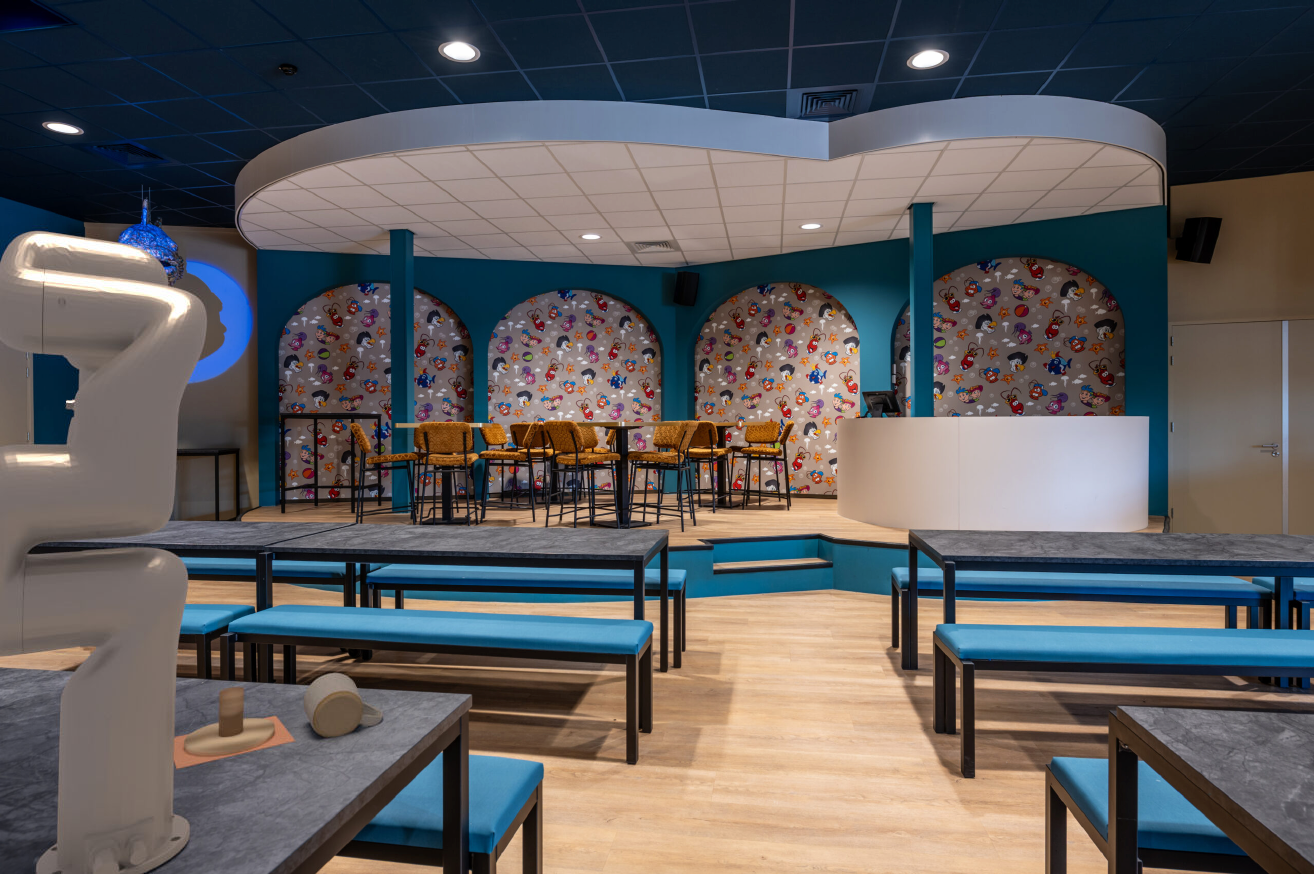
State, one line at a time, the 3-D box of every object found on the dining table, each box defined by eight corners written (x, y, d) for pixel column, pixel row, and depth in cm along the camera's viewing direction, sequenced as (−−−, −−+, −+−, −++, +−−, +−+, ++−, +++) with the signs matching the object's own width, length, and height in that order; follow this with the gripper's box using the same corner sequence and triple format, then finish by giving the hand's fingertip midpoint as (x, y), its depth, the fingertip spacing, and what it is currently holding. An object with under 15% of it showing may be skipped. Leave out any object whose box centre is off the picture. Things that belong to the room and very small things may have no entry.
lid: (282, 742, 100) (283, 692, 100) (190, 764, 92) (191, 710, 93) (265, 718, 108) (266, 673, 108) (179, 737, 101) (180, 688, 101)
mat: (295, 744, 100) (295, 740, 100) (176, 773, 91) (176, 768, 91) (275, 719, 109) (275, 715, 109) (166, 743, 100) (166, 738, 100)
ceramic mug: (311, 746, 100) (313, 691, 100) (301, 727, 106) (304, 676, 107) (388, 731, 106) (390, 679, 106) (375, 714, 112) (377, 665, 113)
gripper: (34, 405, 99) (31, 527, 99) (180, 410, 111) (178, 519, 110) (35, 407, 105) (32, 522, 105) (174, 412, 116) (172, 516, 116)
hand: (107, 521), depth 108 cm, fingers open, 9 cm apart
